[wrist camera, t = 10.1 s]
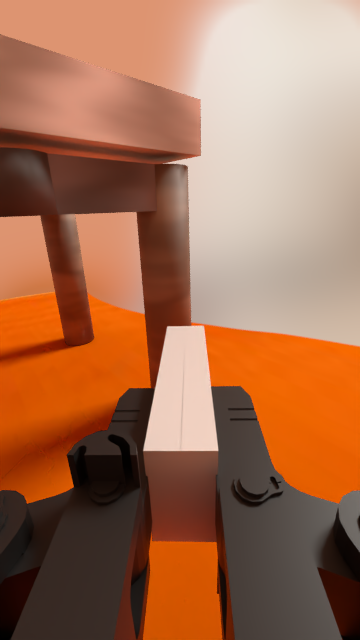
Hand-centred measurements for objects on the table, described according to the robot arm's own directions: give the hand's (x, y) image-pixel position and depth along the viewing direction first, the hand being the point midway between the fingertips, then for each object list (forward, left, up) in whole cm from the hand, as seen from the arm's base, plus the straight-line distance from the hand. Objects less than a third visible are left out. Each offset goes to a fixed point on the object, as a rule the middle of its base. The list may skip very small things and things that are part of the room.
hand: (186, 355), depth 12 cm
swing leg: (0, -6, -7) cm, 9 cm away
